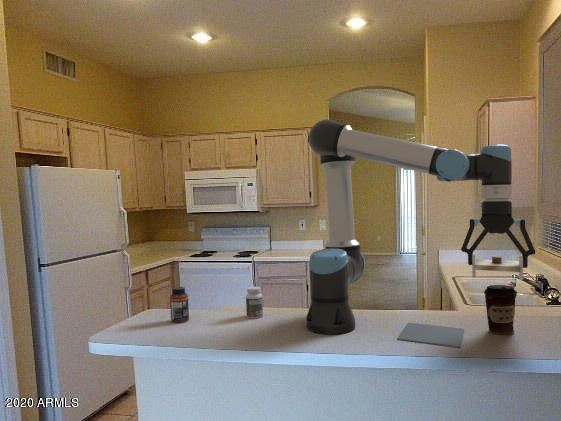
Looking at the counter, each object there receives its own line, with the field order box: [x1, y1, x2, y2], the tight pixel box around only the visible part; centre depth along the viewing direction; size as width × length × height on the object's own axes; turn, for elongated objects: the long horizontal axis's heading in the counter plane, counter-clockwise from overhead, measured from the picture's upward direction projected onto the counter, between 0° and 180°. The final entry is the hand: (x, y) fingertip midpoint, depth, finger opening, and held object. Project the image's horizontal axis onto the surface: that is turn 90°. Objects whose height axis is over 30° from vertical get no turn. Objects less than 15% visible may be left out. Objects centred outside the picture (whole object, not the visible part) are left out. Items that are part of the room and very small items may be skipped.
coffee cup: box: [483, 284, 518, 336], centre depth 114 cm, size 9×8×13 cm
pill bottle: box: [245, 286, 264, 319], centre depth 138 cm, size 6×6×10 cm
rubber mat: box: [396, 322, 465, 349], centre depth 114 cm, size 16×16×1 cm
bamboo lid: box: [475, 256, 521, 273], centre depth 114 cm, size 11×11×3 cm
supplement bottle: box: [169, 286, 190, 324], centre depth 135 cm, size 6×6×11 cm
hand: (497, 278), depth 114 cm, fingers closed on bamboo lid, 11 cm apart
